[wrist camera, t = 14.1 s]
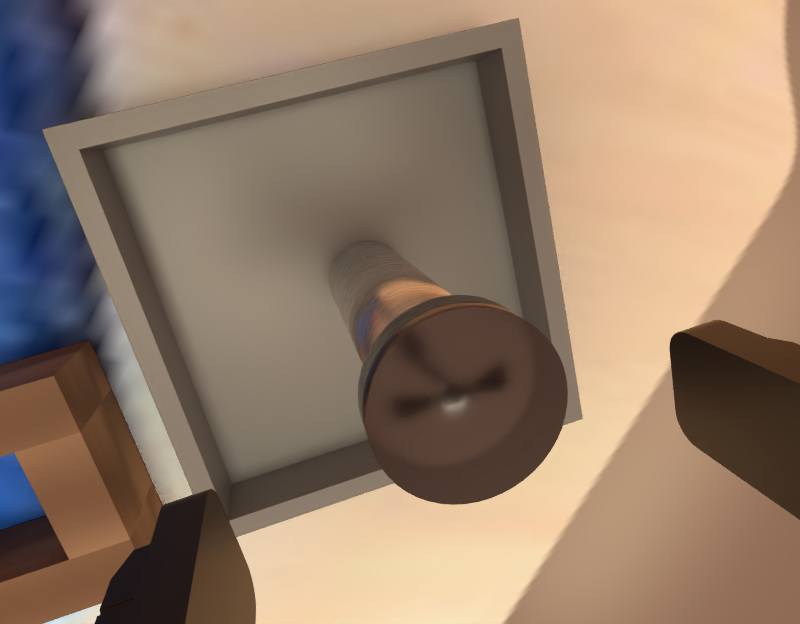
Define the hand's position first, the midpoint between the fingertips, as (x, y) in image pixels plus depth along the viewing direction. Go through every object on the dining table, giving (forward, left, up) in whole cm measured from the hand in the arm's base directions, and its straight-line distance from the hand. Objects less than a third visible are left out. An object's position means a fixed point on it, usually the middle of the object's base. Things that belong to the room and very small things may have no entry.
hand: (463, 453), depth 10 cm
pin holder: (+4, -15, -16) cm, 22 cm away
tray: (0, 0, -16) cm, 16 cm away
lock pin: (0, +1, -15) cm, 15 cm away
